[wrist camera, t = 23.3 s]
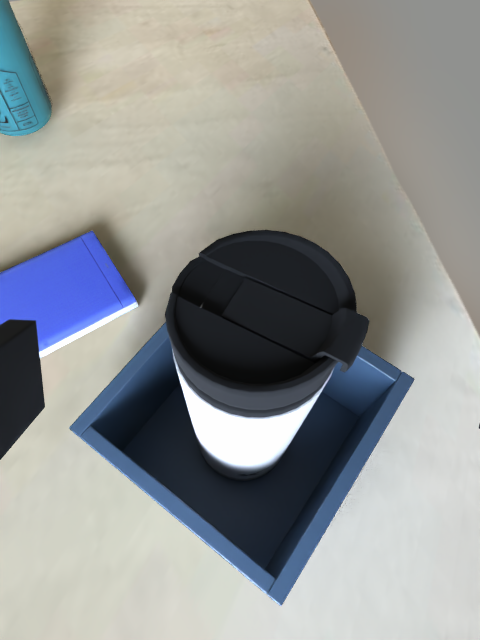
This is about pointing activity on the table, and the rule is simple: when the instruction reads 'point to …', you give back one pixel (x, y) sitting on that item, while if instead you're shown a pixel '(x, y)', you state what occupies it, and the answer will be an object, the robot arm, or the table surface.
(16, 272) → the hard drive
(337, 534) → the table surface
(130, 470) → the blue open box
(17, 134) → the beverage bottle
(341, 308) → the travel mug
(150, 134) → the table surface
